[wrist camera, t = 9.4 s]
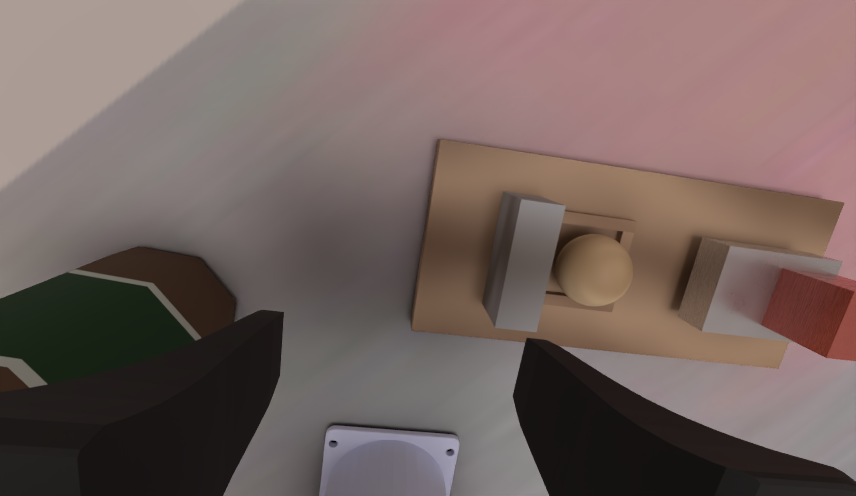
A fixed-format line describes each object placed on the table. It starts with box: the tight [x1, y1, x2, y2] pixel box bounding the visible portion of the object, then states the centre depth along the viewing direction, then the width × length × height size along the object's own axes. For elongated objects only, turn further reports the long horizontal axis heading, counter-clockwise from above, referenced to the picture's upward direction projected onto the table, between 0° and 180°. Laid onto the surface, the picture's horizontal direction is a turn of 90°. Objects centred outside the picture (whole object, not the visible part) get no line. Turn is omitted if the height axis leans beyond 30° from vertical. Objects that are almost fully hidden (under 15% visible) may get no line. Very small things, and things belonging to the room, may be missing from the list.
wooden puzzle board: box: [411, 139, 844, 369], centre depth 21 cm, size 10×22×4 cm, turn 81°
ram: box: [677, 238, 856, 361], centre depth 19 cm, size 4×6×5 cm
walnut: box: [555, 234, 633, 306], centre depth 20 cm, size 4×4×4 cm
